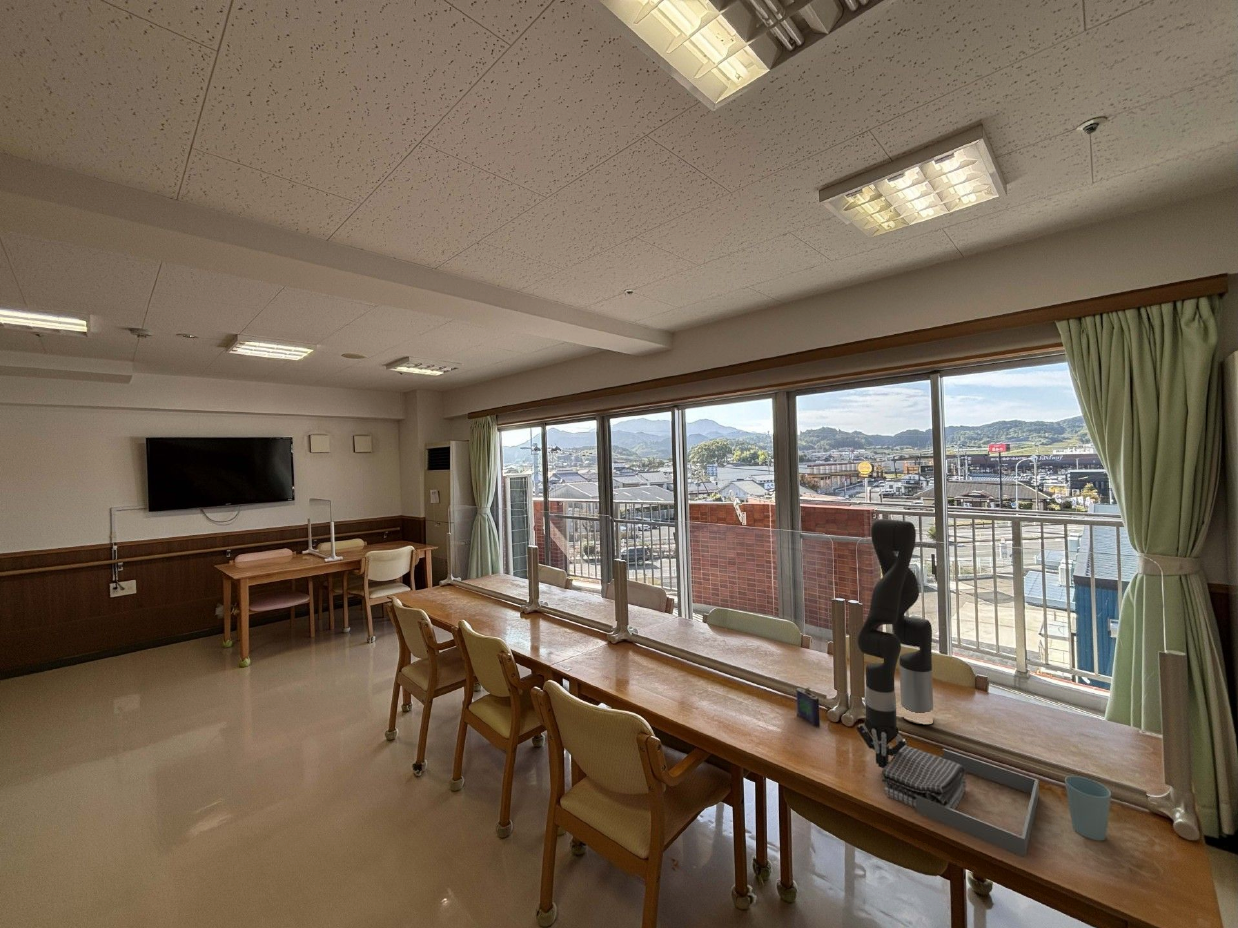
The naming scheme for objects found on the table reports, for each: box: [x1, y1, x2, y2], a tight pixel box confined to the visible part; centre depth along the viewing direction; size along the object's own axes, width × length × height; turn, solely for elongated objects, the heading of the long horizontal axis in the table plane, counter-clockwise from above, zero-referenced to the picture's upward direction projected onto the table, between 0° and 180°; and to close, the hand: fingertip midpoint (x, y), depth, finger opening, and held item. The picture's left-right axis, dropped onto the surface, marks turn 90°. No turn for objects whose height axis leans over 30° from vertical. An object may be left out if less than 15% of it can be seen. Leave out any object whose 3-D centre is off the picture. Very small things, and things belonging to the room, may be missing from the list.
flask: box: [795, 687, 821, 728], centre depth 165 cm, size 9×3×11 cm, turn 24°
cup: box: [1064, 775, 1112, 842], centre depth 113 cm, size 8×8×10 cm
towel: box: [881, 744, 967, 810], centre depth 128 cm, size 15×18×8 cm
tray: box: [915, 748, 1040, 858], centre depth 123 cm, size 27×21×4 cm
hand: (882, 766), depth 137 cm, fingers closed
